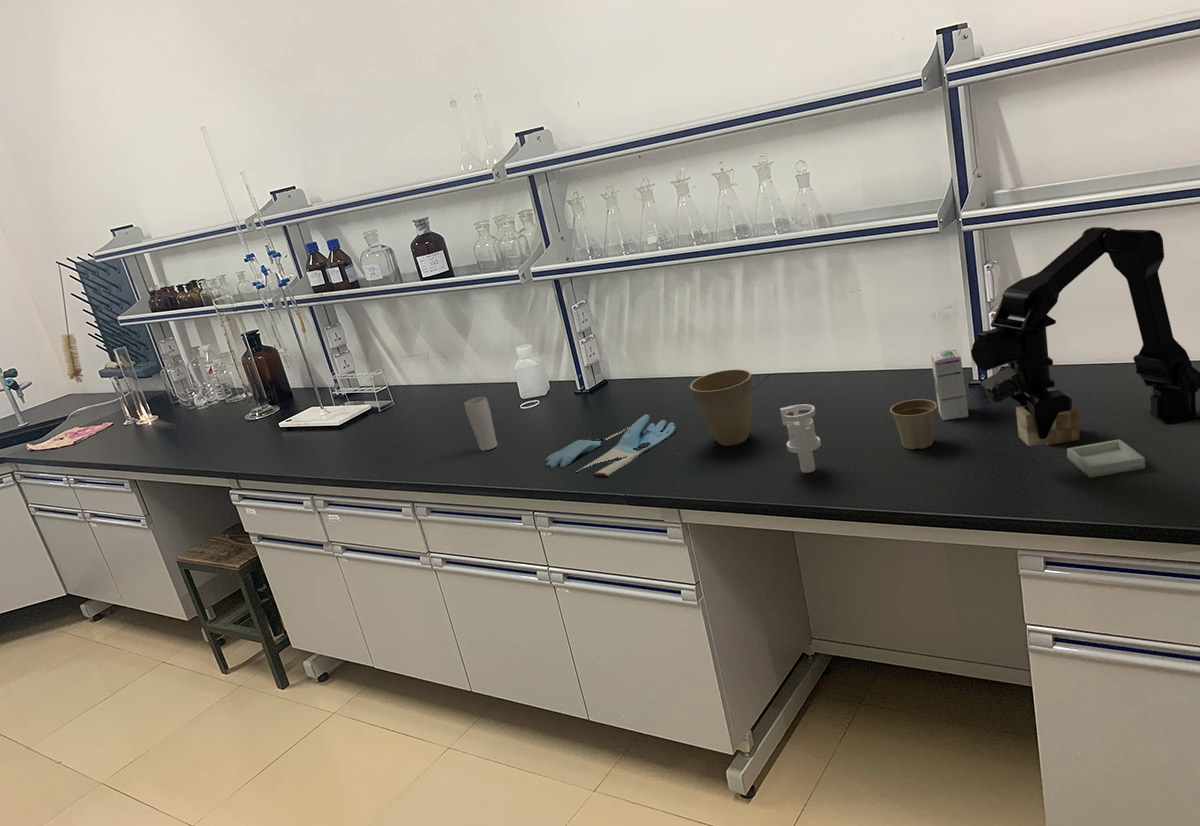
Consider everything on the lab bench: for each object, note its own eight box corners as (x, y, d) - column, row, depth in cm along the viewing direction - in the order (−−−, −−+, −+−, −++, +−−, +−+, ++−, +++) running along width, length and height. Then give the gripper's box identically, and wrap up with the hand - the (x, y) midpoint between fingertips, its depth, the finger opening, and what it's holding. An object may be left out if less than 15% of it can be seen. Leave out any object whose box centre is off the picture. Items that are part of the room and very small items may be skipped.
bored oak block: (1066, 429, 176) (1064, 401, 175) (1079, 439, 171) (1077, 411, 169) (1036, 434, 177) (1033, 407, 176) (1047, 445, 172) (1045, 417, 170)
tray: (1120, 449, 163) (1119, 439, 163) (1145, 468, 154) (1144, 458, 154) (1067, 458, 165) (1066, 448, 164) (1089, 477, 156) (1088, 467, 155)
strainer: (789, 467, 191) (777, 403, 187) (820, 460, 190) (810, 396, 186) (794, 479, 184) (783, 414, 180) (828, 472, 184) (817, 406, 179)
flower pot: (948, 437, 186) (944, 399, 184) (930, 454, 180) (925, 416, 177) (906, 434, 193) (901, 398, 190) (887, 451, 187) (882, 414, 184)
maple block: (1046, 431, 163) (1043, 401, 161) (1057, 441, 158) (1054, 410, 157) (1018, 436, 164) (1015, 406, 162) (1028, 446, 159) (1025, 415, 157)
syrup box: (969, 417, 194) (962, 355, 189) (941, 421, 195) (934, 360, 191) (964, 408, 199) (957, 348, 194) (937, 412, 200) (929, 353, 196)
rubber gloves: (533, 469, 230) (527, 447, 228) (613, 422, 251) (608, 402, 249) (608, 480, 210) (602, 456, 208) (687, 428, 232) (682, 405, 230)
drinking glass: (504, 443, 255) (491, 395, 250) (492, 452, 249) (478, 404, 244) (485, 444, 258) (471, 397, 253) (473, 453, 252) (459, 406, 248)
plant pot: (705, 433, 223) (693, 375, 218) (763, 424, 219) (752, 365, 214) (700, 456, 209) (687, 394, 204) (761, 447, 205) (749, 384, 201)
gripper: (967, 349, 166) (976, 424, 171) (1001, 377, 149) (1010, 460, 153) (1028, 337, 164) (1035, 413, 169) (1070, 364, 147) (1076, 448, 152)
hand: (1037, 433), depth 161 cm, fingers closed on maple block, 5 cm apart
